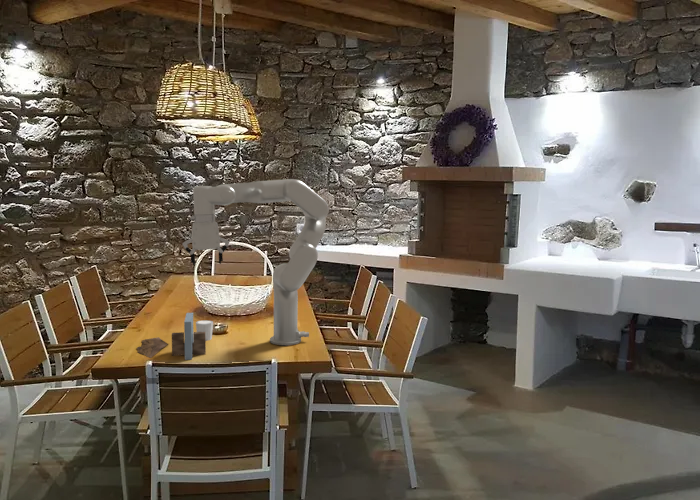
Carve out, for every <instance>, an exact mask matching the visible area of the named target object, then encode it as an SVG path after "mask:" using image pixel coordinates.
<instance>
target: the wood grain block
mask: <svg viewBox="0 0 700 500" xmlns="http://www.w3.org/2000/svg"><path fill="white" fill-rule="evenodd" d="M193 340H194V342H193V343H192V356H195V355H206V352H207V349H206V347H207V346H206V336H205V332H197V331H193ZM171 356H185V336H184V332H171Z"/></svg>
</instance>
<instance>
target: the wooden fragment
mask: <svg viewBox="0 0 700 500" xmlns="http://www.w3.org/2000/svg"><path fill="white" fill-rule="evenodd" d="M168 345H169V344H168V343H167V342H166V341H165V340H163V339H162V338H160V337H152V338H145V339H143V340H141V346H138V347H136V349H137V351H136V354H137V353H138V354H140V355H142V356H146V358H153V357H154V356H155V355H156V354H158V353H159V352H160V351H161V350H162V349H163V348H165V347H167V346H168Z"/></svg>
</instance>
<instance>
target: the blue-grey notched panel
mask: <svg viewBox="0 0 700 500" xmlns="http://www.w3.org/2000/svg"><path fill="white" fill-rule="evenodd" d="M183 323H184V324H183V325H184V328H183V329H184V343H185V355H184V361H190V360H193V355H192V343H193V342H194V312H186V314H185V318H184V322H183Z"/></svg>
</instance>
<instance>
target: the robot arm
mask: <svg viewBox="0 0 700 500" xmlns="http://www.w3.org/2000/svg"><path fill="white" fill-rule="evenodd" d="M192 192H193V195H192V197H193V211H194V215H192V216H190V221H194V222H193V223H192V227H191V238H188V239H187V240H185V241H184V242H182V243H181V244H182V246H183V248H184V250H185V251H186V252H187V253H189V255H190V262H191V263H190V264H192V265H193V266H195V265H196V256H195V255H196V254H195V252H196V251H198V250H199V251H201V250H202V251H203V250H217V251H218V264H220V265H221V264H222V262H224V261H223V260H224V258H223V253H224V252H225V251H226V250H227V249H228V246H229V244H230V241H229V240H228V239H225V238H223V237H221V236H220V229H219V223H218V222H217V221H216V213H215V212H216V211H215V209H216V208H215V206H216V205H219V206H229V205H231V204H233V203H234V204H235V203H252V204H253V203H254V204H268V203H279V202H292V204H294V205H295V206H296V207H298V208H299V209H300V210H301V211H302V213H303V215H304V225H303V227H302V228H301V231H300V233H299V234H298V235H297V237H296V239H295V240H294V242H293V243H292V245H291V246H290V248H289V252H288V256H289V259H290V260H289V261H288V262H287V263H284V262H283V263H280V264H279V265H277V266H276V267H275V268H274V269H273V273H272V286H273V287H272V288H273V335H272V336H271V337H269V343H271V344H273V345H275V346H277V345H278V346H294V345H297V344H300V343H301V342H302V338H309V337H310V332H309V331H303V330H302V331H299V328H298V314H299V313H298V309H299V308H298V304H299V303H298V301H299V299H298V298H299V297H298V295H299V294H298V291H299V289H300V288H301V287H302V286H303V284H304V283H305V282H306V280H307V278H308V277H309V275H310V273H311V272H312V270H313V269H314V268H315V266H316V264H317V262H318V258H319V255H318V250H317V247H318V245H319V243H320V241H321V239H322V238H323V236H324V234H325V232H326V226H327V225H326V224H327V220H326V218H327V217H328V215H329V212H330V208H329V207H330V206H329V205H328V202H327V201H326V200H325V199H324V198H323V197H321V196H320V195H319V194H318V193H317V192H315V191H314V190H313V189H312V188H310V186H308V185H307V184H306V183H304V182H303V181H302V180H299V179H294V178H288V179H273V180H272V179H271V180H257V181H251V182H241V183H239V182H238V183H225V184H219V185H217V186H211V185H198V186H195V187H194V188H193V190H192ZM221 242H222V243H224V245H223V247H221ZM190 243H192V245H191V246H192V249H191V248H190V247H188V245H189V244H190Z"/></svg>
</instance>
